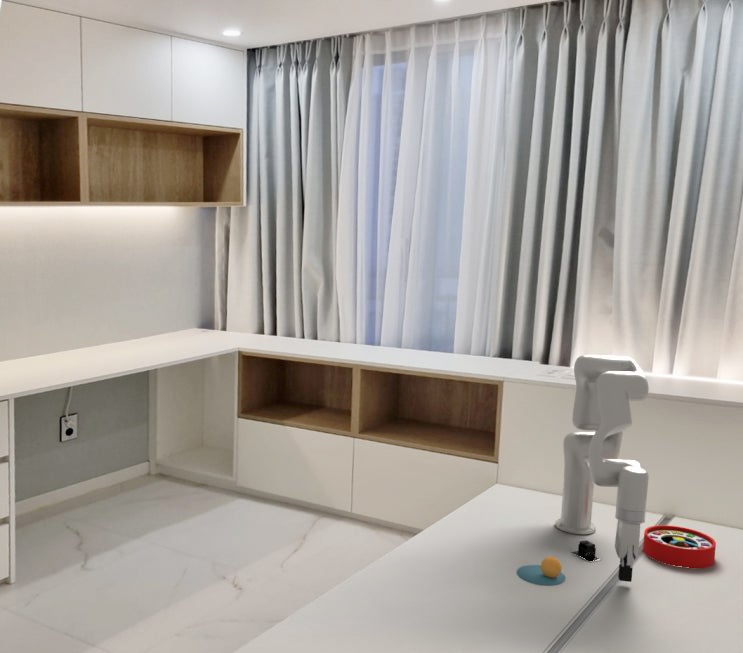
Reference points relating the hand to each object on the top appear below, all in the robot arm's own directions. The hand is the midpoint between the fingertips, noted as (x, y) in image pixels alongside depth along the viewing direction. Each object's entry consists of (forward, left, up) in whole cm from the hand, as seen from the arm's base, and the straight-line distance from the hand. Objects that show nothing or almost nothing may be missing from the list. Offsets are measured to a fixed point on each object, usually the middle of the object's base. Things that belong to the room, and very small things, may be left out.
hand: (624, 579), depth 210 cm
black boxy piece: (-18, -8, -2) cm, 20 cm away
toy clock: (-28, +19, -2) cm, 34 cm away
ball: (0, -19, +1) cm, 20 cm away
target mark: (0, -22, -2) cm, 22 cm away
